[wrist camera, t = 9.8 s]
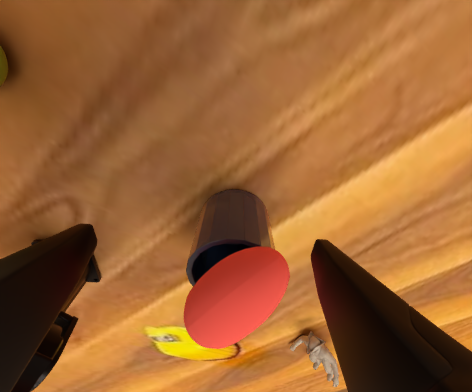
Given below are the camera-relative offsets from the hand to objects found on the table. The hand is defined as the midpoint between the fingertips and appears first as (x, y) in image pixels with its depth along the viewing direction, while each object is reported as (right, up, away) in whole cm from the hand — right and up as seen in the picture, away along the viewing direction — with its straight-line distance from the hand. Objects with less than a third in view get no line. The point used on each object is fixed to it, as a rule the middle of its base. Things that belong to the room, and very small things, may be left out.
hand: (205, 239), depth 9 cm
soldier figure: (+14, -22, +28) cm, 38 cm away
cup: (+1, -1, +15) cm, 15 cm away
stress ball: (+1, -4, +9) cm, 10 cm away
